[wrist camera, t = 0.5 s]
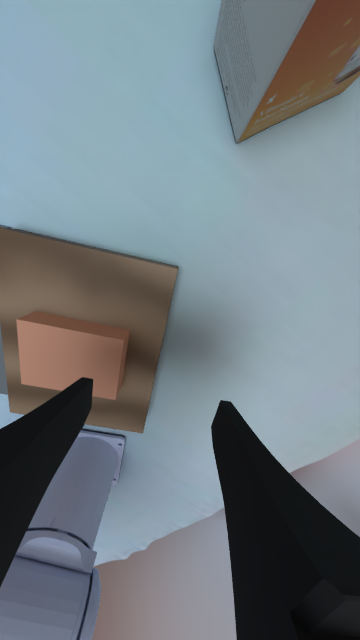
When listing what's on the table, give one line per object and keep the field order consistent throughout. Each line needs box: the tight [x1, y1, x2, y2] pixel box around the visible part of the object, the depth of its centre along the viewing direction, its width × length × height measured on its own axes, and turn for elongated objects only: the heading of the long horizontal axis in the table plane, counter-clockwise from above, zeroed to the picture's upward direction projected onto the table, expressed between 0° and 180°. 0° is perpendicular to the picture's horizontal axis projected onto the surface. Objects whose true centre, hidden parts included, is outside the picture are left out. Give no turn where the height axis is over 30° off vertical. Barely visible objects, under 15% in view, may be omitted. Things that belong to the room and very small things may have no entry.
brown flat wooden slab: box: [0, 227, 178, 433], centre depth 18 cm, size 18×14×2 cm
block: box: [16, 311, 130, 400], centre depth 16 cm, size 6×8×2 cm
